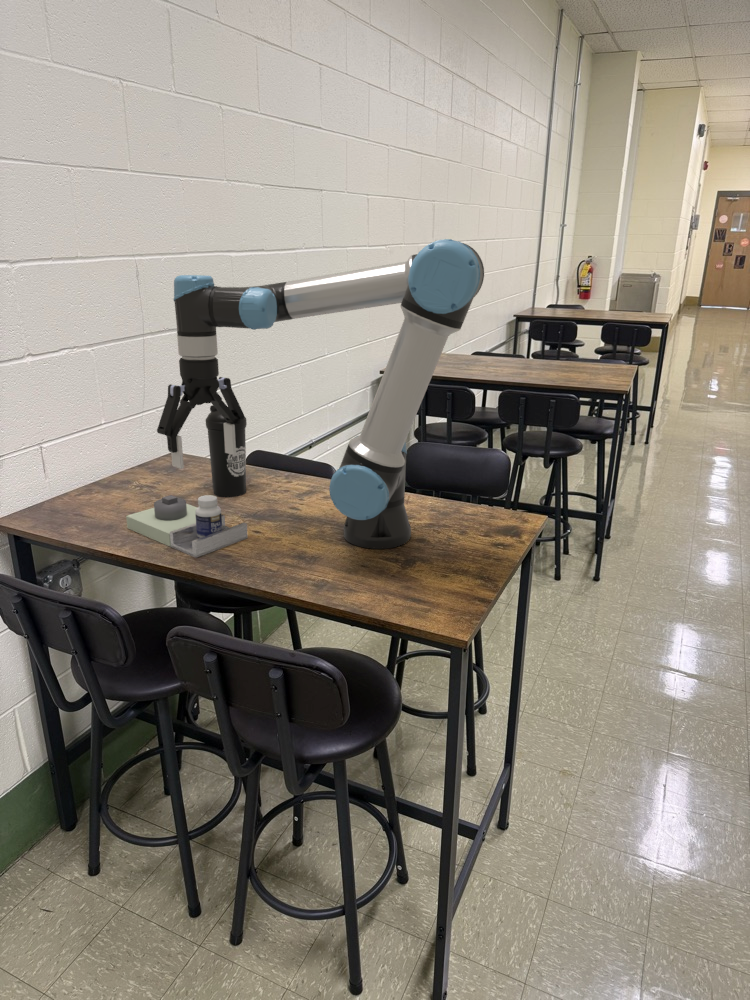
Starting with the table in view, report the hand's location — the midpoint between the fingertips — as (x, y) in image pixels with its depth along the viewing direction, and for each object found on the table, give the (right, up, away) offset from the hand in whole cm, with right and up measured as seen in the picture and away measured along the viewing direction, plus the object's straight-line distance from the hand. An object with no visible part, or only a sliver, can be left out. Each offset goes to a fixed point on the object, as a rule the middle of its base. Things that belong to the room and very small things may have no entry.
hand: (205, 460), depth 143 cm
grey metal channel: (0, -17, +6) cm, 19 cm away
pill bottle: (0, -17, +6) cm, 18 cm away
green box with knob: (-10, -15, +13) cm, 22 cm away
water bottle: (-3, -6, +38) cm, 39 cm away
